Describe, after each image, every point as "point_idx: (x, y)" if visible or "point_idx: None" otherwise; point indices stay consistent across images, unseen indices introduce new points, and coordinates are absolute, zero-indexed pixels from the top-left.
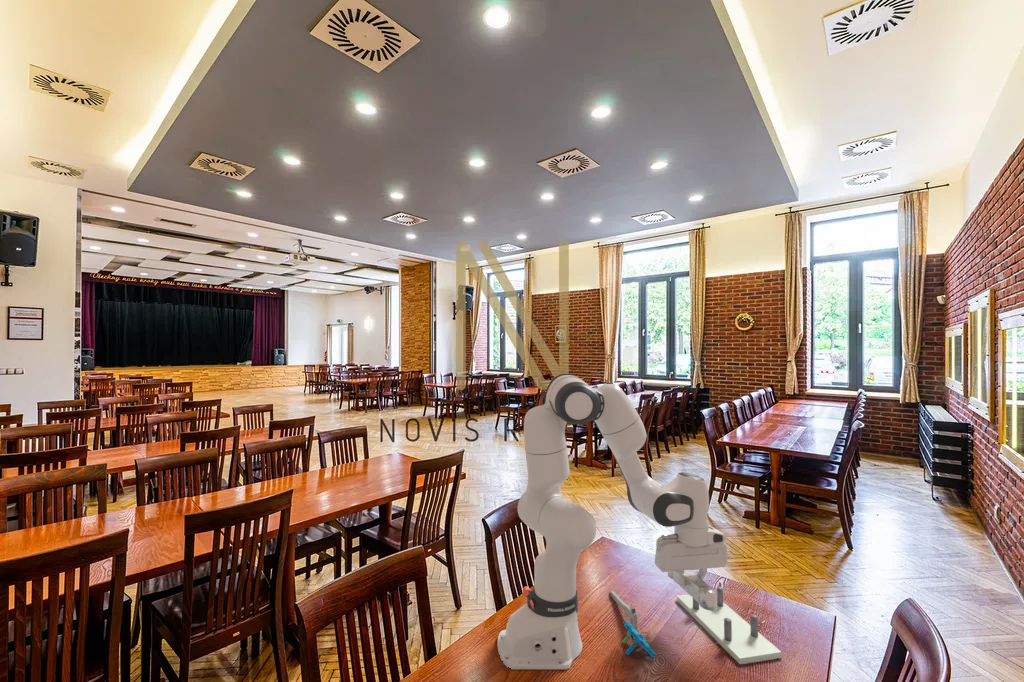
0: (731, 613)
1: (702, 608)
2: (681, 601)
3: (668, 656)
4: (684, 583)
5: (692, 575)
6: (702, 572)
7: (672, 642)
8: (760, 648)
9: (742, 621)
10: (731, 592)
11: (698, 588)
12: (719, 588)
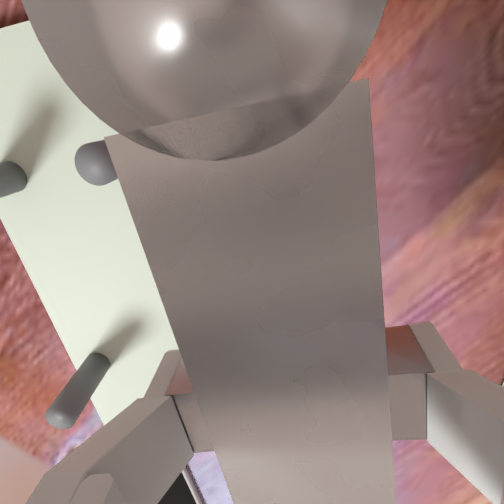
0: (68, 314)
1: (175, 346)
2: None
3: (464, 60)
4: (411, 339)
5: (277, 440)
6: (118, 475)
7: (390, 164)
8: (7, 78)
9: (38, 266)
10: (37, 429)
11: (366, 85)
12: (61, 417)
